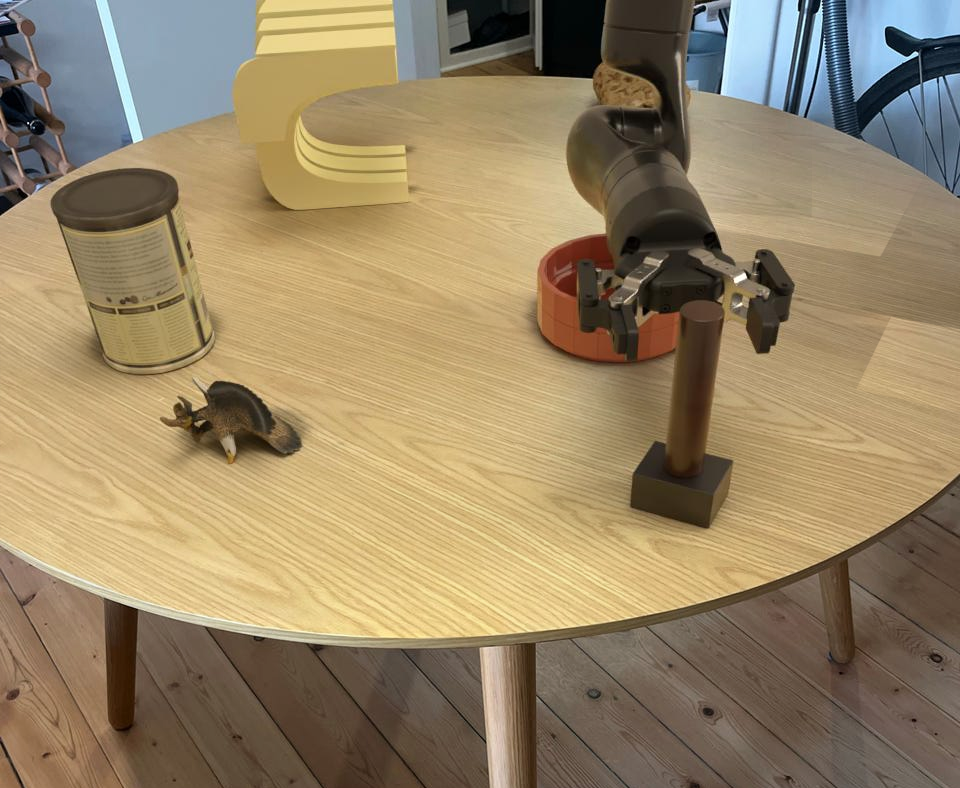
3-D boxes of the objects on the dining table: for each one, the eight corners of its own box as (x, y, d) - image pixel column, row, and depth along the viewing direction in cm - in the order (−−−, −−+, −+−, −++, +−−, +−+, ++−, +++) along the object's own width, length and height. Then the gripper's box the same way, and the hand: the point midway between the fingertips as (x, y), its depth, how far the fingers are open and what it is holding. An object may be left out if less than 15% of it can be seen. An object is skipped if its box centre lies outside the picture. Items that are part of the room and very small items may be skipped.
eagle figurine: (169, 472, 78) (279, 454, 76) (149, 377, 77) (260, 357, 75) (212, 466, 85) (313, 450, 84) (194, 380, 84) (296, 361, 82)
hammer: (728, 493, 75) (759, 303, 65) (708, 528, 73) (737, 336, 62) (651, 473, 77) (669, 286, 67) (629, 506, 75) (644, 317, 64)
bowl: (716, 305, 95) (723, 248, 91) (662, 380, 86) (667, 320, 82) (576, 278, 100) (577, 222, 96) (512, 346, 91) (510, 288, 87)
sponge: (686, 164, 122) (702, 73, 132) (678, 101, 115) (696, 10, 126) (579, 178, 126) (603, 89, 136) (566, 118, 120) (592, 29, 130)
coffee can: (85, 343, 95) (31, 190, 85) (186, 307, 99) (146, 157, 89) (130, 388, 89) (77, 229, 79) (235, 348, 93) (198, 192, 83)
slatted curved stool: (278, 141, 129) (250, -22, 117) (404, 132, 130) (390, -31, 117) (261, 245, 108) (224, 59, 96) (411, 234, 109) (394, 47, 96)
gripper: (565, 189, 74) (590, 296, 62) (761, 178, 74) (823, 282, 62) (563, 287, 79) (586, 402, 68) (746, 277, 79) (800, 390, 68)
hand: (699, 344), depth 65 cm, fingers open, 8 cm apart
